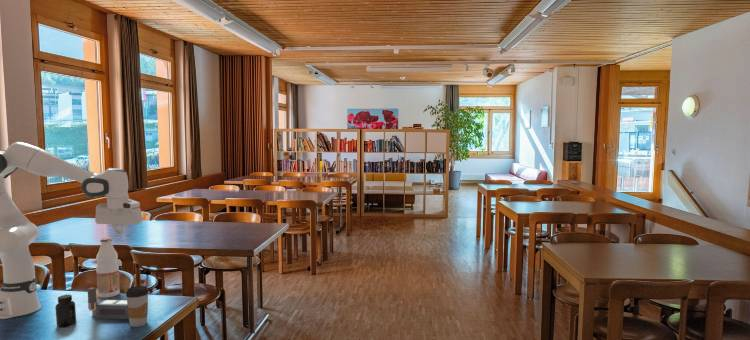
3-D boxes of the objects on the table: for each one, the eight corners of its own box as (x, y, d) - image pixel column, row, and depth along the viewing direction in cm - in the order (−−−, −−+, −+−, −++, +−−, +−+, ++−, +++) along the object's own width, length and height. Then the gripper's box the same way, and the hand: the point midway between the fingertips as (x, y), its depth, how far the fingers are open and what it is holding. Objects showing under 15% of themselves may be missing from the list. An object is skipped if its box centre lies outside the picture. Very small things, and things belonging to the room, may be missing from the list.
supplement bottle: (73, 320, 196) (71, 292, 195) (78, 324, 192) (77, 295, 191) (54, 325, 191) (52, 296, 190) (59, 329, 186) (58, 300, 185)
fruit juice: (98, 299, 220) (96, 241, 218) (96, 294, 228) (93, 238, 226) (121, 295, 226) (118, 239, 224) (118, 290, 233) (115, 235, 231)
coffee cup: (140, 329, 187) (138, 292, 185) (122, 327, 188) (120, 291, 187) (154, 320, 195) (152, 286, 194) (136, 319, 196) (135, 284, 195)
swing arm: (90, 297, 200) (90, 278, 200) (98, 296, 202) (98, 277, 201) (88, 311, 185) (87, 290, 184) (97, 309, 186) (96, 289, 185)
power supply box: (87, 318, 197) (87, 301, 197) (97, 313, 203) (96, 296, 203) (128, 319, 196) (127, 301, 196) (136, 313, 203) (136, 296, 202)
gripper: (91, 204, 208) (92, 234, 209) (135, 204, 207) (137, 235, 208) (100, 202, 214) (101, 232, 215) (143, 202, 213) (144, 232, 214)
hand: (119, 233), depth 212 cm, fingers closed
